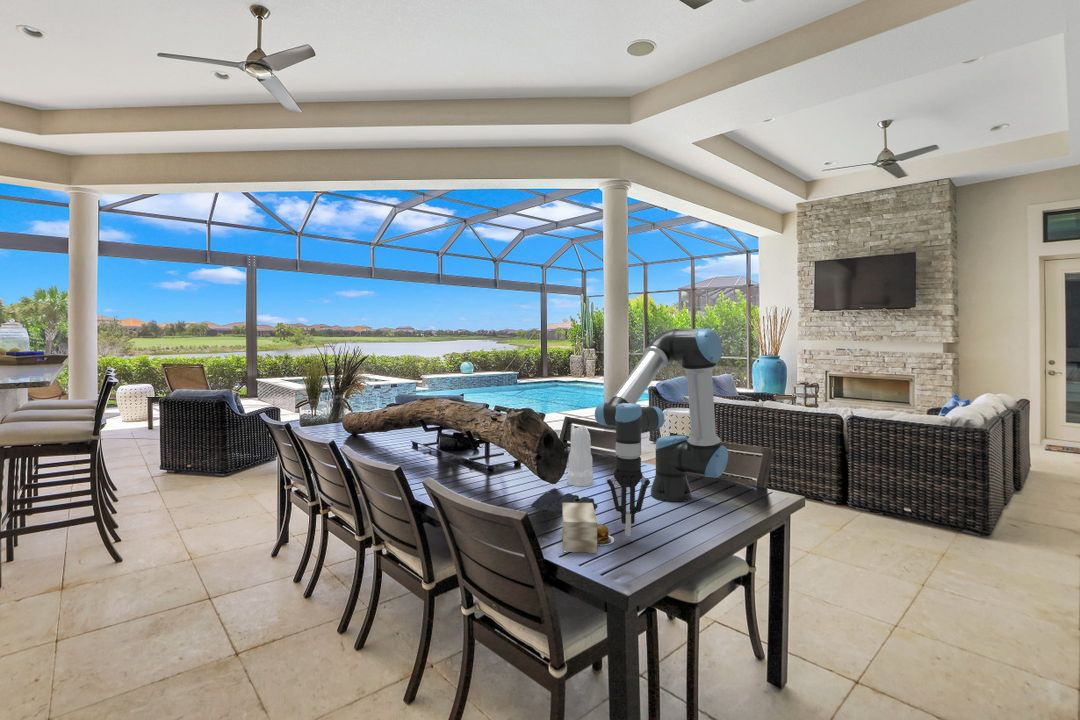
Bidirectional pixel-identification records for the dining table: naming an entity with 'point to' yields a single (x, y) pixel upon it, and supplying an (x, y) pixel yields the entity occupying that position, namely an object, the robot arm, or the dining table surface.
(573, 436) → the decorative vase
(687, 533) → the dining table surface
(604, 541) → the hamburger
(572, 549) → the beige paper bag
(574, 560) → the dining table surface
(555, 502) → the dark slate chunk
